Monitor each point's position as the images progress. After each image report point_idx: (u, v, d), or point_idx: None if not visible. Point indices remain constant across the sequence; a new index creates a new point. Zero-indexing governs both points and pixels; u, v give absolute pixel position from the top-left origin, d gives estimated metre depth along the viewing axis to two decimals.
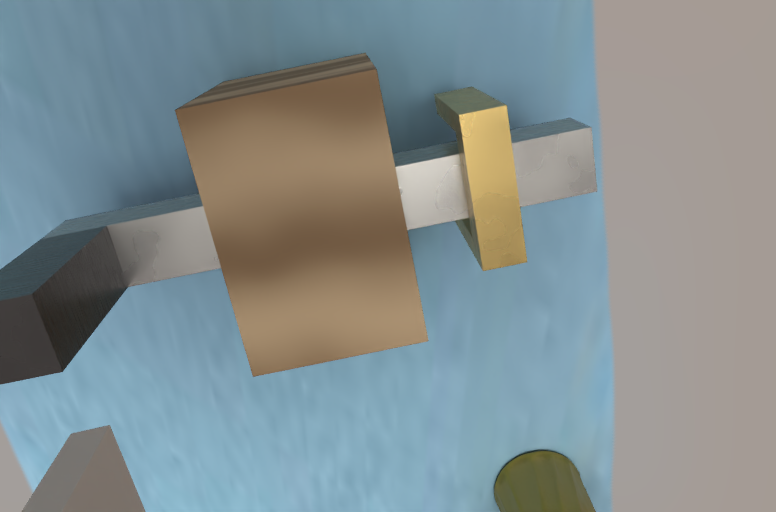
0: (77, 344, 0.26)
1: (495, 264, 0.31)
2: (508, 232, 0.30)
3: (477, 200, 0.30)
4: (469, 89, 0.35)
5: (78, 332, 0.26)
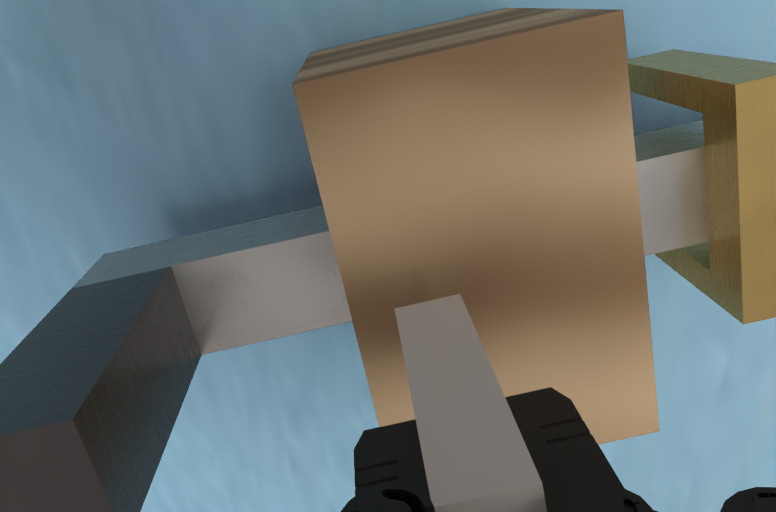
0: (145, 480, 0.15)
1: (762, 314, 0.20)
2: None
3: (747, 218, 0.19)
4: (676, 52, 0.24)
5: (145, 458, 0.16)
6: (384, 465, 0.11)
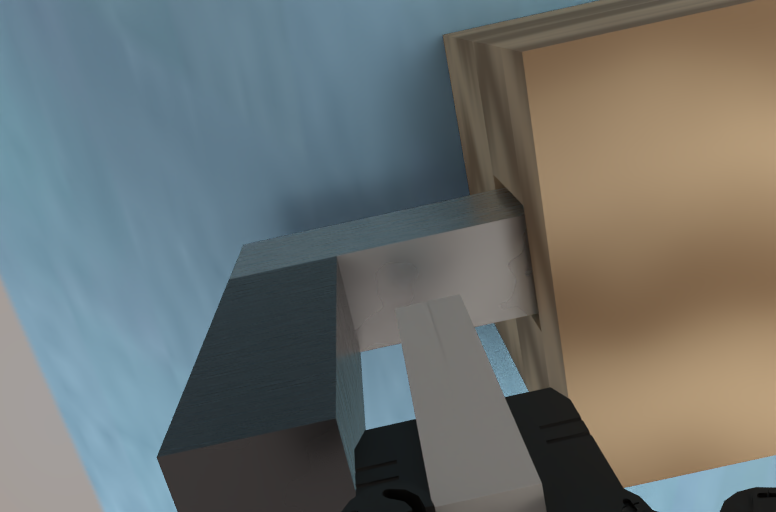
0: None
1: None
2: None
3: None
4: None
5: None
6: (385, 465, 0.11)
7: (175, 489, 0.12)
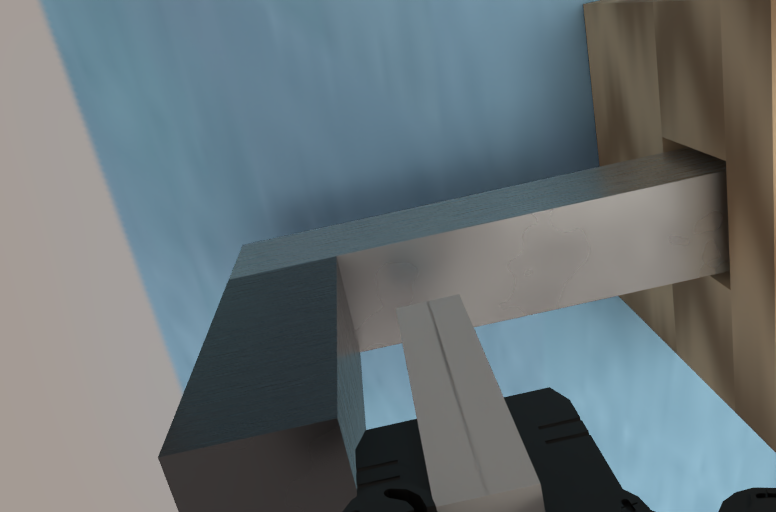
0: None
1: None
2: None
3: None
4: None
5: None
6: (386, 464, 0.11)
7: (176, 489, 0.11)
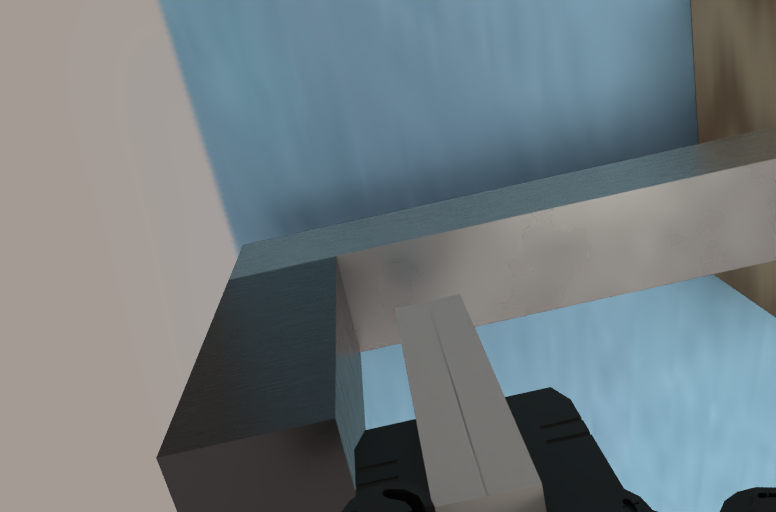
0: None
1: None
2: None
3: None
4: None
5: None
6: (384, 465, 0.11)
7: (175, 489, 0.12)
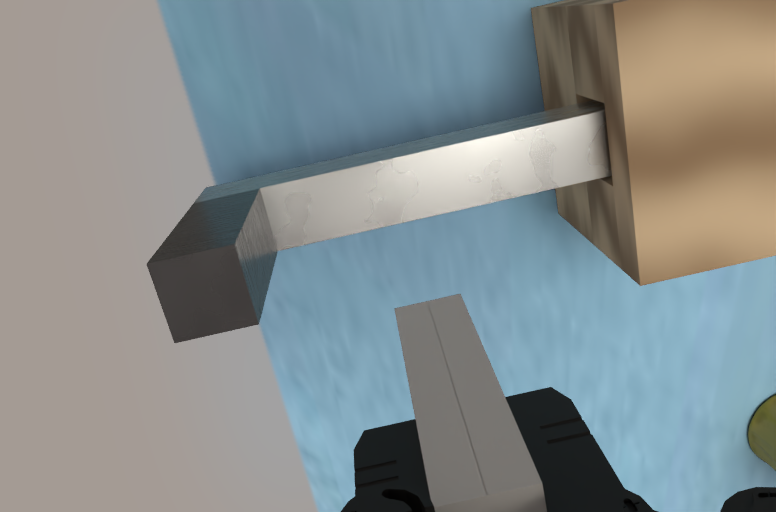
0: (261, 299, 0.25)
1: None
2: None
3: None
4: None
5: (261, 288, 0.26)
6: (384, 465, 0.11)
7: (156, 281, 0.23)
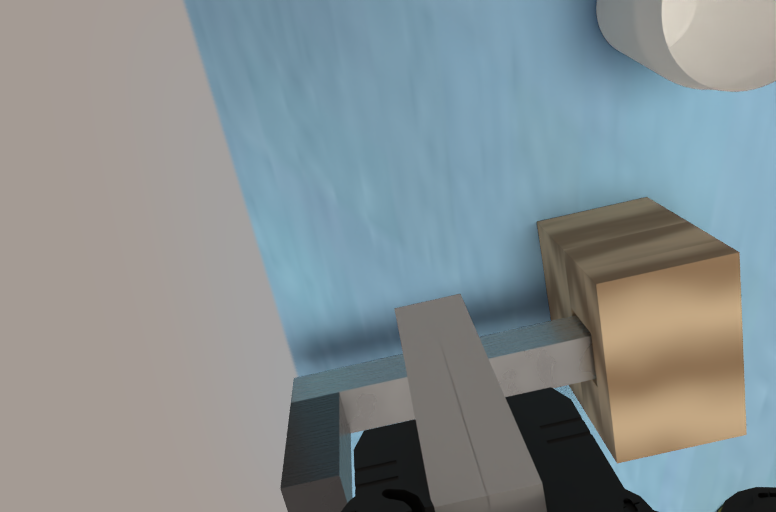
0: (351, 497, 0.37)
1: None
2: None
3: None
4: None
5: (350, 488, 0.37)
6: (384, 465, 0.11)
7: (286, 499, 0.34)
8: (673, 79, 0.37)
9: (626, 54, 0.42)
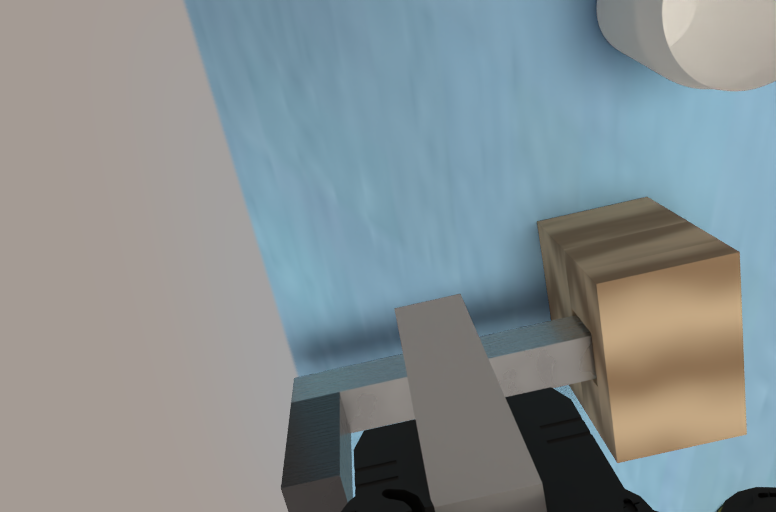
0: (351, 497, 0.37)
1: None
2: None
3: None
4: None
5: (350, 487, 0.37)
6: (384, 465, 0.11)
7: (286, 498, 0.34)
8: (673, 79, 0.37)
9: (626, 54, 0.42)
